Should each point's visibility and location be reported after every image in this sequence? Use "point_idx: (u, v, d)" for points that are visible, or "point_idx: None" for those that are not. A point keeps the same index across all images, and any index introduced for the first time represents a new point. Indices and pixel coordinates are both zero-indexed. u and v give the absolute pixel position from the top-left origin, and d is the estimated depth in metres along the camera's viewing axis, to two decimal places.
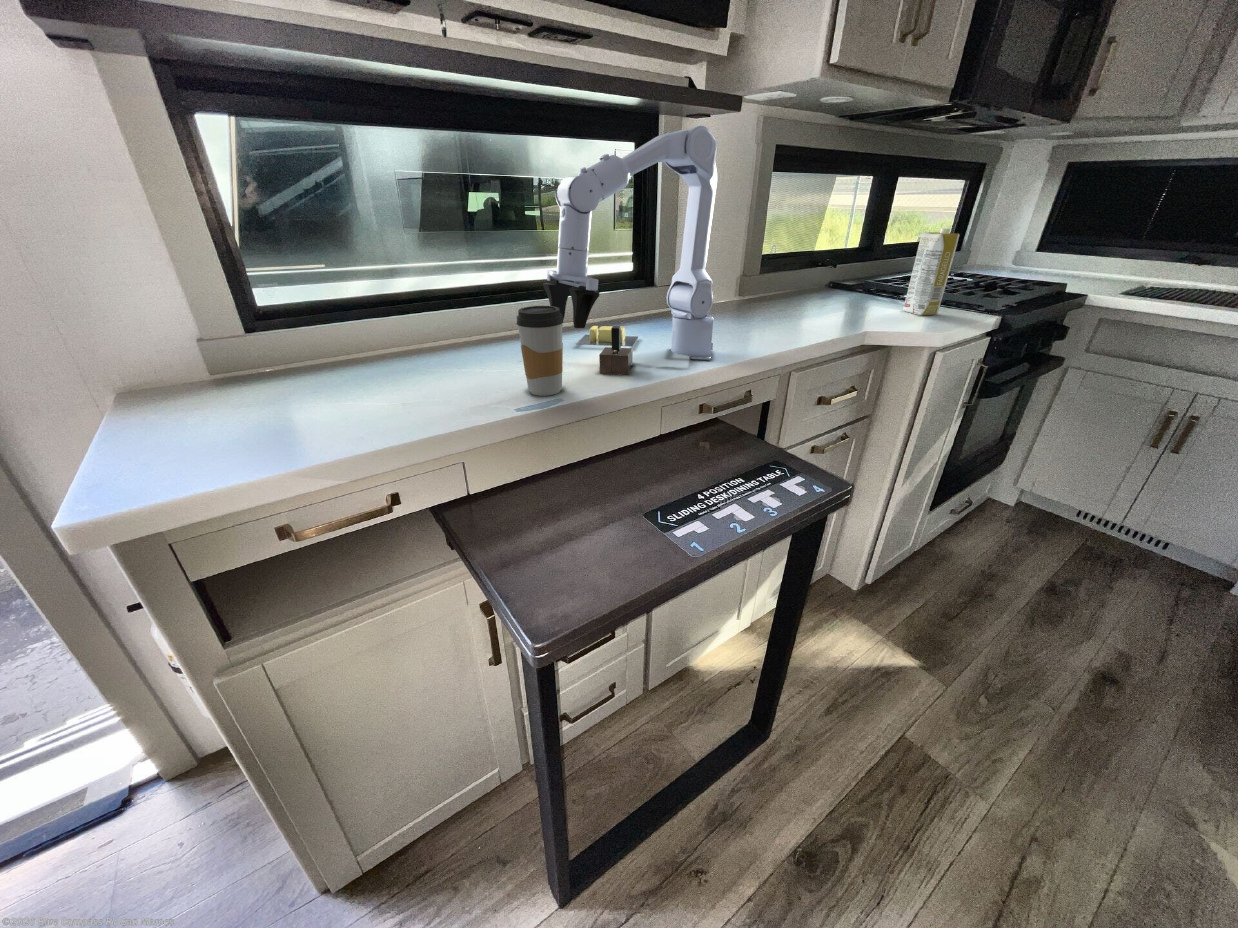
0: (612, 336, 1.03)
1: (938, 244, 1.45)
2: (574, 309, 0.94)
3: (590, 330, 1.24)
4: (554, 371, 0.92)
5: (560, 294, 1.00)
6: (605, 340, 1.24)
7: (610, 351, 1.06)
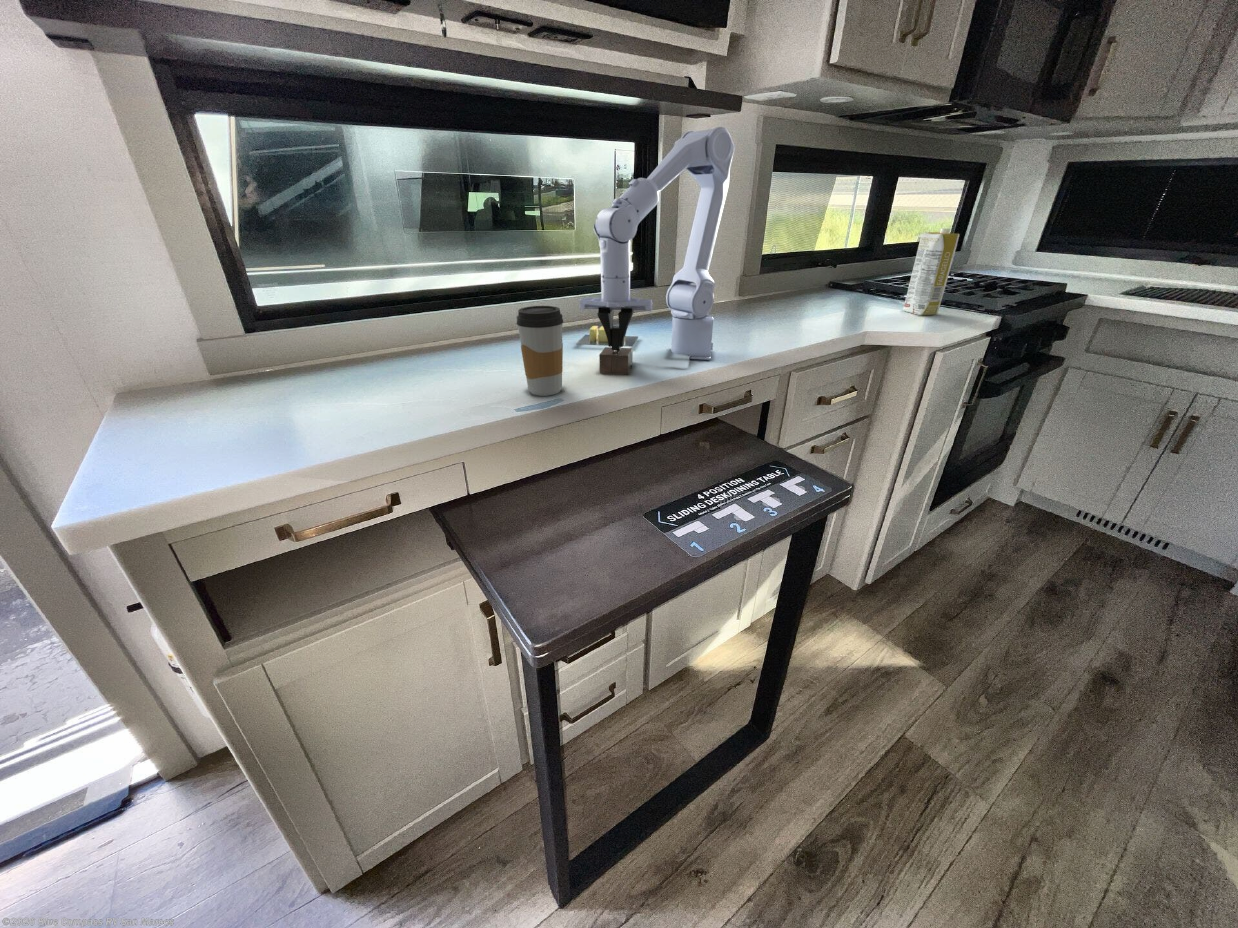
0: (612, 336, 1.03)
1: (938, 244, 1.45)
2: (621, 330, 1.02)
3: (590, 330, 1.24)
4: (554, 371, 0.92)
5: (611, 320, 1.03)
6: (605, 340, 1.24)
7: (610, 351, 1.06)
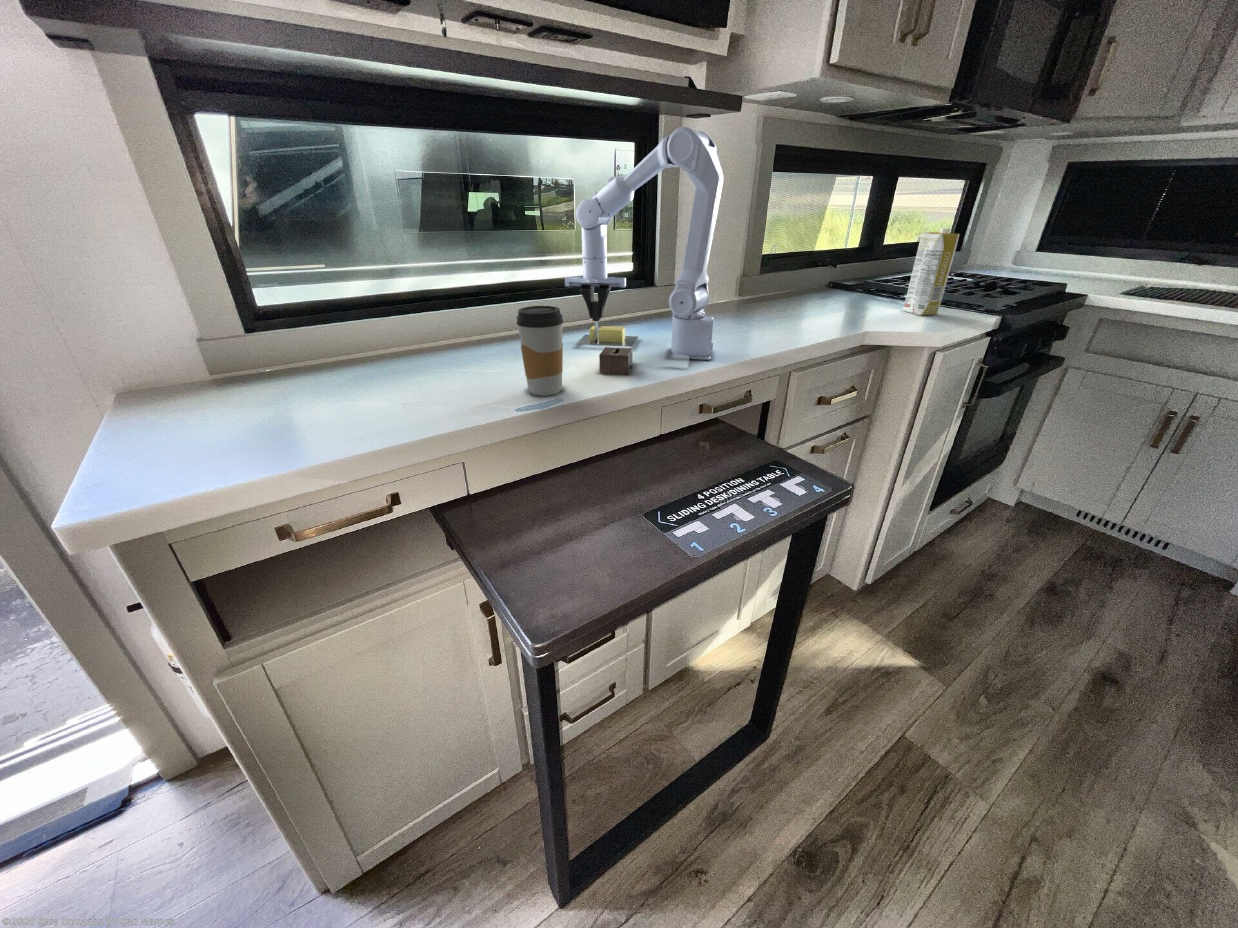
0: (593, 309, 1.22)
1: (938, 244, 1.45)
2: (600, 304, 1.21)
3: (590, 330, 1.24)
4: (554, 371, 0.92)
5: (592, 295, 1.22)
6: (605, 340, 1.24)
7: (610, 351, 1.06)
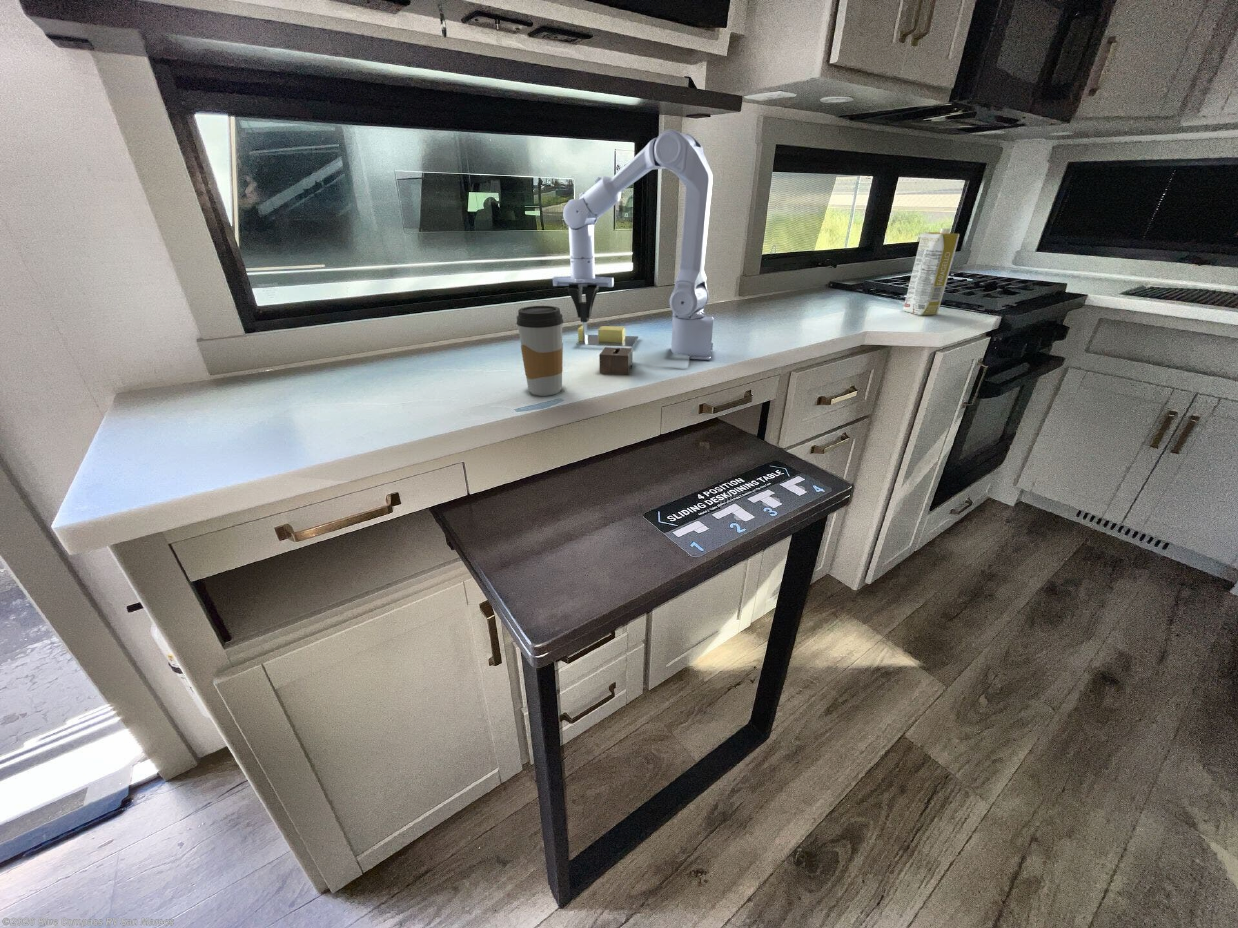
0: (580, 310, 1.23)
1: (938, 244, 1.45)
2: (588, 303, 1.21)
3: (578, 330, 1.24)
4: (554, 371, 0.92)
5: (580, 295, 1.22)
6: (605, 340, 1.24)
7: (610, 351, 1.06)
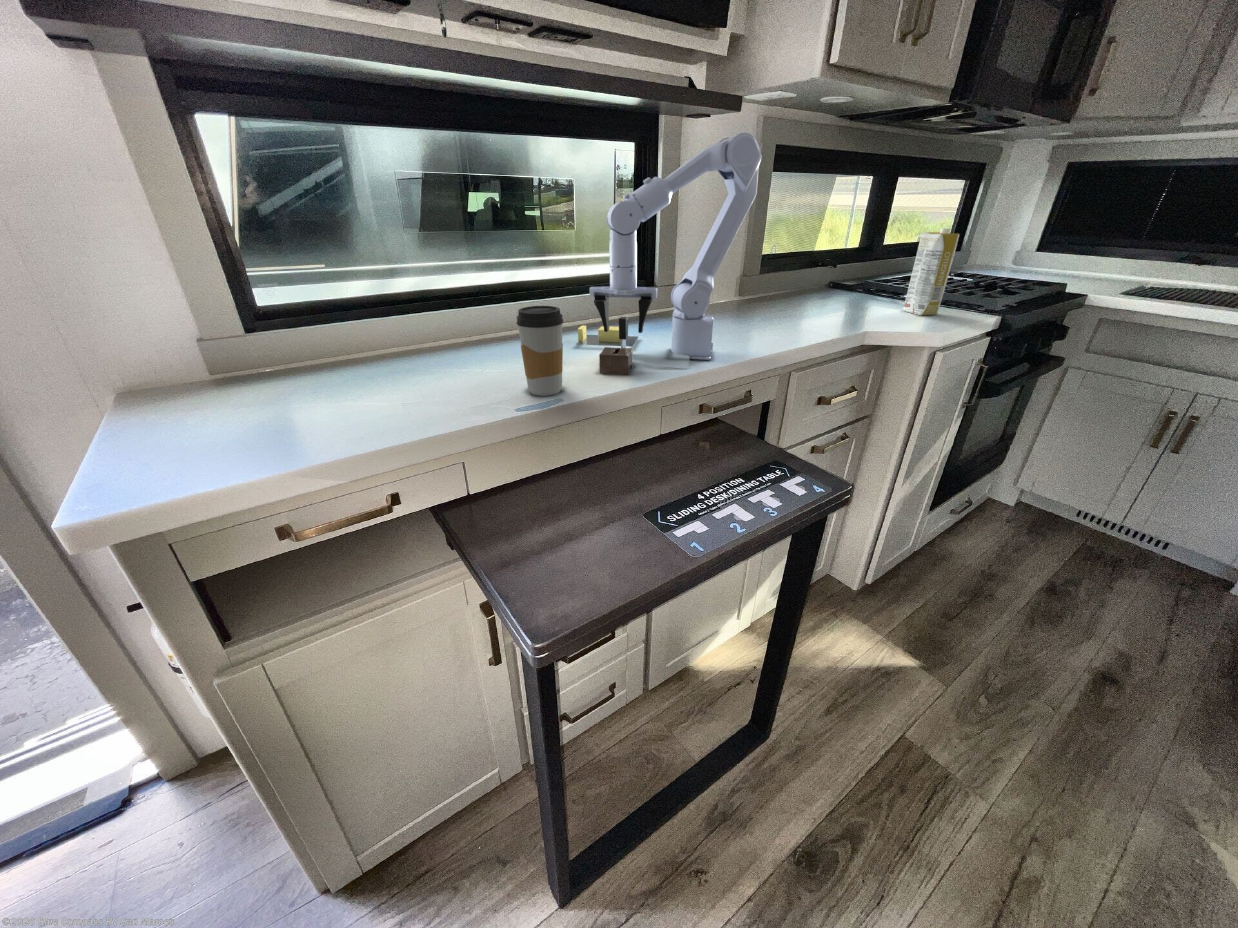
0: (619, 326, 1.11)
1: (938, 244, 1.45)
2: (641, 317, 1.09)
3: (578, 330, 1.24)
4: (554, 371, 0.92)
5: (606, 307, 1.11)
6: (605, 340, 1.24)
7: (610, 351, 1.06)
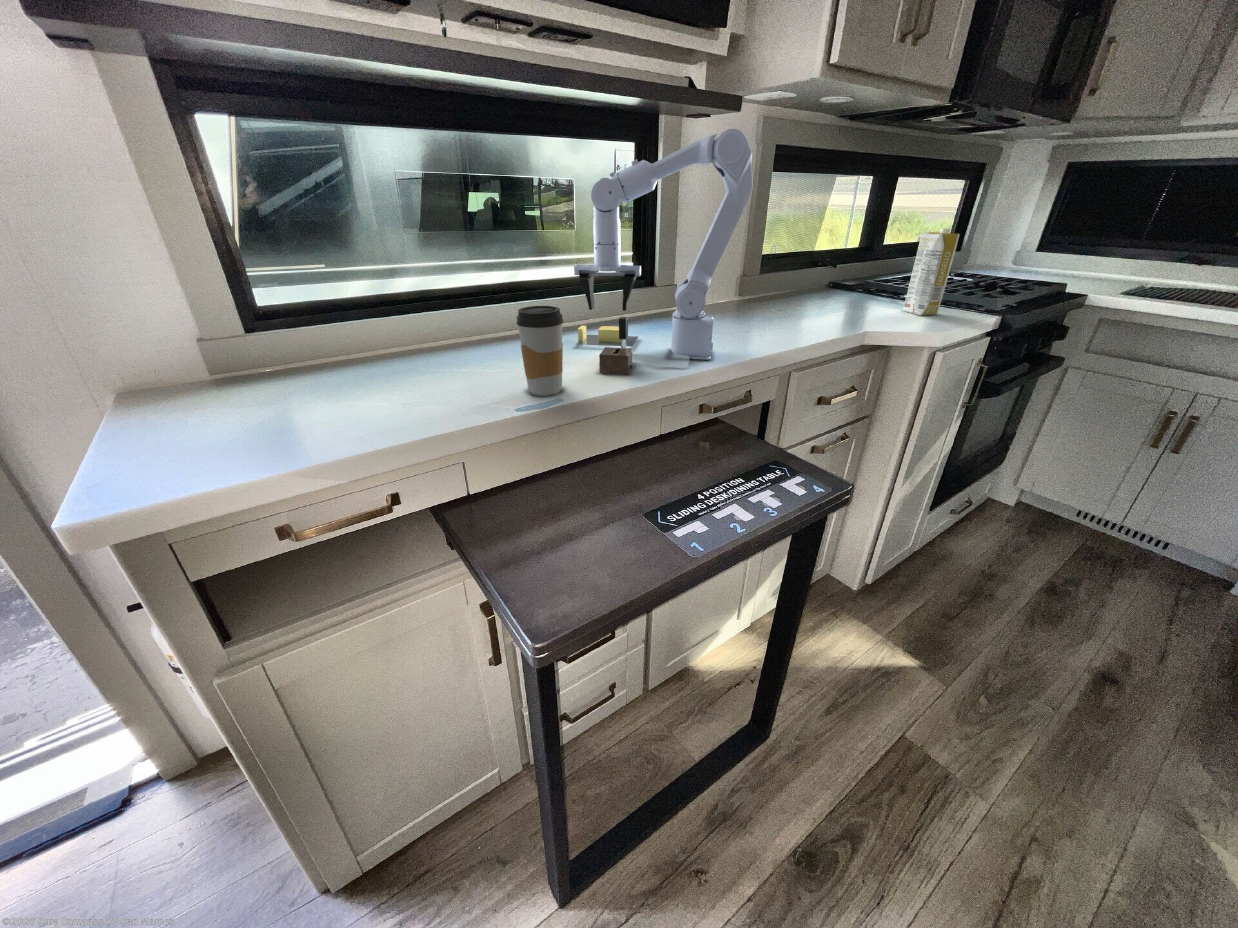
0: (619, 326, 1.11)
1: (938, 244, 1.45)
2: (625, 295, 1.10)
3: (578, 330, 1.24)
4: (554, 371, 0.92)
5: (591, 285, 1.12)
6: (605, 340, 1.24)
7: (610, 351, 1.06)
